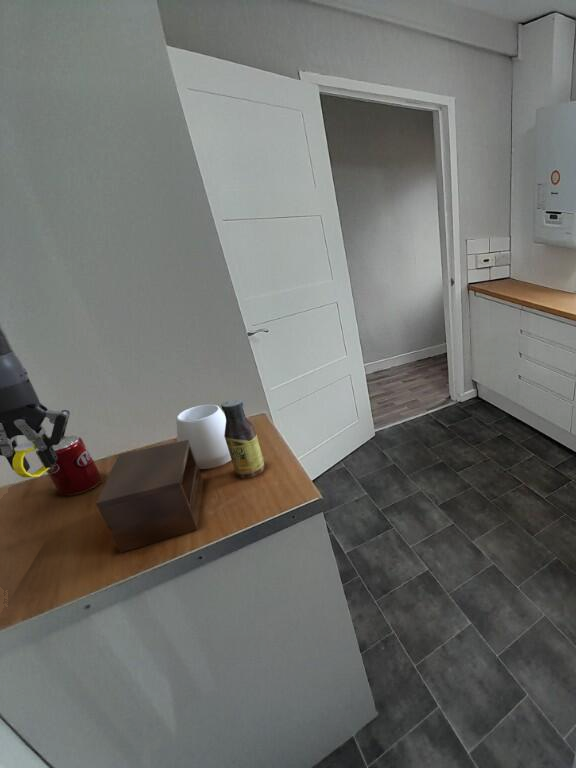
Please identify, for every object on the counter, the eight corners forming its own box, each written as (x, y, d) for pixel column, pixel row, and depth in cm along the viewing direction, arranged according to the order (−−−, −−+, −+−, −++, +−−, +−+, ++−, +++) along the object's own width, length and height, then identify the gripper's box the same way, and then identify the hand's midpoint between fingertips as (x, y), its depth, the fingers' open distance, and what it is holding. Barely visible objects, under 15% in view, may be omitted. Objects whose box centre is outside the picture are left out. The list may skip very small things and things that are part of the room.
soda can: (61, 501, 91) (34, 457, 85) (59, 486, 95) (33, 443, 90) (104, 486, 95) (82, 443, 90) (101, 472, 100) (79, 431, 95)
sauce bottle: (231, 476, 100) (205, 405, 91) (254, 462, 105) (232, 393, 97) (250, 483, 98) (226, 410, 89) (272, 468, 103) (252, 398, 95)
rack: (120, 553, 78) (95, 503, 73) (138, 499, 92) (118, 454, 87) (197, 530, 83) (179, 482, 79) (203, 482, 97) (188, 439, 93)
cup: (174, 462, 105) (155, 415, 99) (231, 439, 115) (216, 395, 109) (196, 482, 98) (177, 432, 92) (255, 455, 108) (240, 409, 102)
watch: (47, 463, 77) (32, 436, 74) (63, 462, 77) (50, 435, 75) (16, 483, 72) (0, 455, 69) (35, 482, 72) (19, 454, 69)
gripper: (-88, 397, 61) (-30, 491, 68) (44, 381, 68) (84, 468, 75) (-59, 380, 67) (-9, 468, 73) (60, 366, 73) (96, 448, 80)
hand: (38, 467), depth 74 cm, fingers closed on watch, 2 cm apart
